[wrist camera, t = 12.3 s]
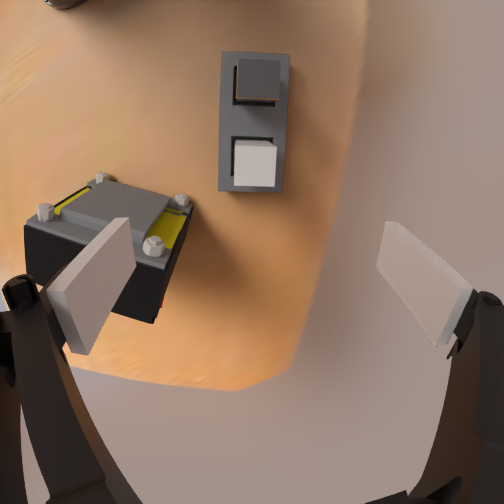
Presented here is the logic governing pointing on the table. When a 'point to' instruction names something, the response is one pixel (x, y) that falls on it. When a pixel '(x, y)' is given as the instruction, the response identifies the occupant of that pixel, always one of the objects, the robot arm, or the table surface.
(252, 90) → the plug
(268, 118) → the pdu strip
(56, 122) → the table surface
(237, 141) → the white rectangular block
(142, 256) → the electrical component
